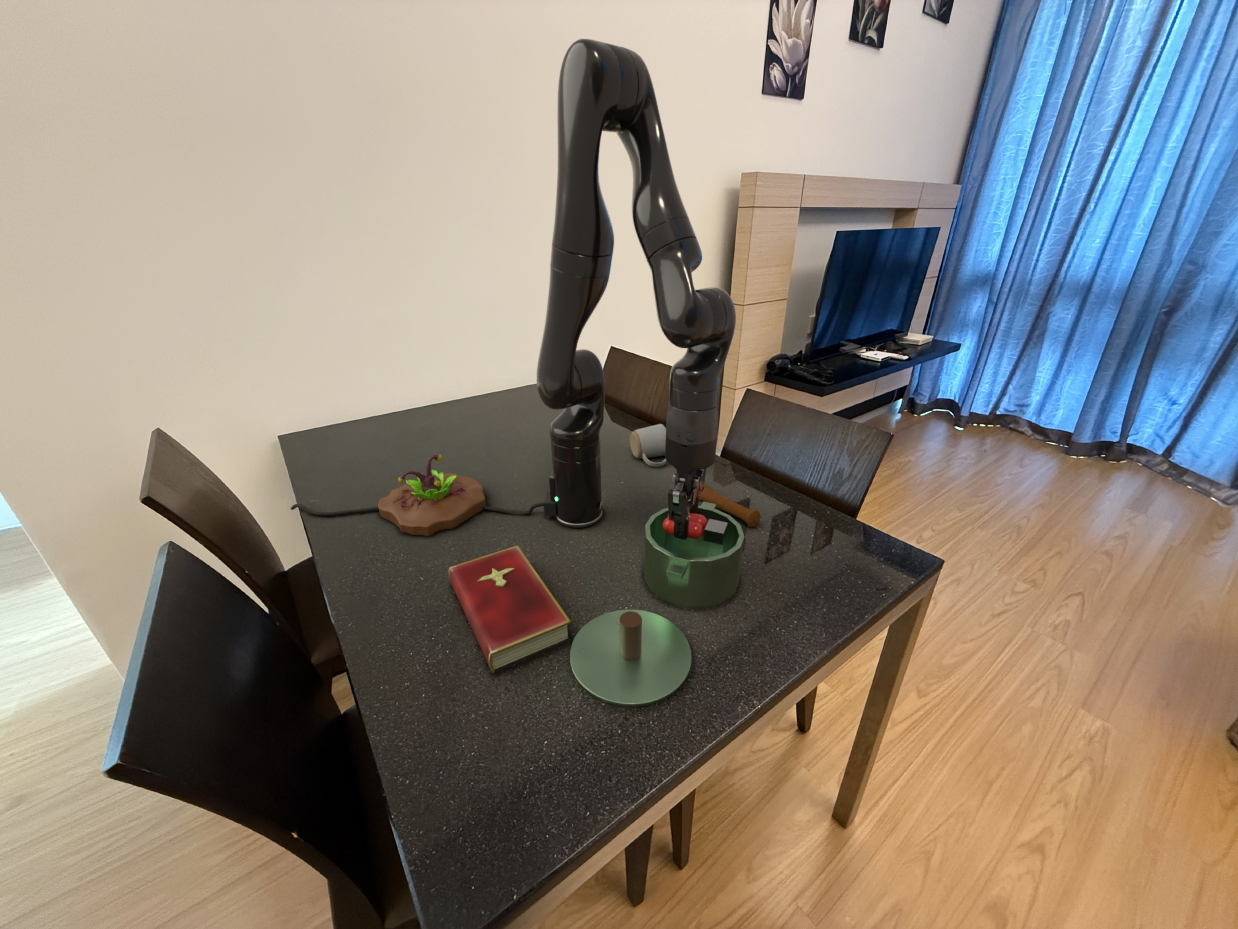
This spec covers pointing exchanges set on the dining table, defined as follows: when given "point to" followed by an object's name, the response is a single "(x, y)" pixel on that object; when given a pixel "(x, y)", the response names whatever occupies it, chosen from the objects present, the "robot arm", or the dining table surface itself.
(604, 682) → the lid
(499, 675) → the dining table surface
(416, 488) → the plant
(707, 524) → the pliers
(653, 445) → the ceramic mug
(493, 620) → the hardcover book
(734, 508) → the primitive tool
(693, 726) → the dining table surface
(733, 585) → the pot
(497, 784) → the dining table surface
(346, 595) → the dining table surface
